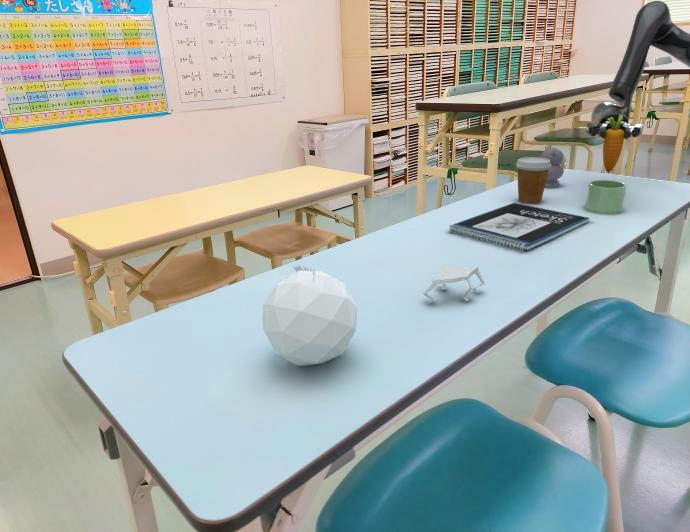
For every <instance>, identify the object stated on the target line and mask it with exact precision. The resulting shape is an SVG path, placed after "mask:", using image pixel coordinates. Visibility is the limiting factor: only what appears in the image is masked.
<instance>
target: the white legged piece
mask: <svg viewBox="0 0 690 532" xmlns="http://www.w3.org/2000/svg"><path fill="white" fill-rule="evenodd" d="M473 275H476V277H477V278H478V279H479V281H480V284H479V285H476V286H473V284H472V282H471V280H470V278H472V276H473ZM462 281H466V283H467V285H468V287H469V288H468V290H467V291H466V292H465V294H464V296H463V299H464V301H465V302H468V301H469V298H468V297H467V295H468V294H469V293H470V292H471V291H472V290H473V291H474V292H475V293H476V294H479V293H480V292H479V291H478V290H477V289H478V288H480V287H481V286H484V285H485V284H486V282H485V280H484V278H483V276H482V273H481V272H480V269H479V266H467V267H466V266H464V267H460V266H459V267H457V266H448V265H446V266H445V268H444V269H443V270H442V271H441V272H440V273H439V274H438V275H437V276H436V278H433V279H432V282H431V284H430V285H429V287H428V288H427V289H426V290H424V291H423V293H422V296H425V297H426V298H428V299H429V300H431V301H429V302H428V304H432V303H434V302H436V299H435V298H434V297H432V295H429V294H428V293H429V292H430V291H431V290H432V289H434V288H435V287H436V286H437V285H440V284H441V285H442V288H441V290H442V291H444V290H446V289H447V285H446V284H452V283H457V282H462Z"/></svg>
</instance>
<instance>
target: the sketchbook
mask: <svg viewBox="0 0 690 532" xmlns="http://www.w3.org/2000/svg"><path fill="white" fill-rule="evenodd" d="M589 222H590V217H588V216H583V215H577V214H573V213H567V212H563V211H557V210H552V209H547V208H543V207H539V206H532V205H529V204H528V205H527V204H524V203H517V202H512V203H509V204H507V205H503V206H501V207H498V208H496V209H493V210H490V211H487V212H484V213H482V214H479V215H475V216H473V217H470V218H467V219H465V220H462V221H459V222H456V223H453V224H450V225H449V226H448V227H449V229H448V230H449V232H450V233H454V234H457V235H460V236H466V237H468V238H472V239H477V240H480V241H483V242H487V243H490V244H491V243H493V244H494V245H495V244H496V245H499V246H502V247H506V248H509V249H513V250H516V251H520V252H526V251H527V252H528V251H529V250H532V249H535V248H536V247H538V246H540V245H543V244H545V243H547V242H549V241H551V240H553V239H555V238H558V237H560V236H562V235H564V234H566V233H568V232H570V231H572V230H575V229H577V228H578V227H579V228H580V227H581V226H583V225H586V224H587V223H589Z"/></svg>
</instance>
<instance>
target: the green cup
mask: <svg viewBox="0 0 690 532" xmlns="http://www.w3.org/2000/svg"><path fill="white" fill-rule="evenodd" d="M626 191H627V184H626V183H624V182H621V181H616V180H608V179H598V180H596V179H595V180H592V181H589V182H588V185H587V192H586V198H585V199H586V200H585V210H587V211H588V212H591V213H594V214H601V215H616V214H620V213H622V212H623V209H624V203H625V196H626Z"/></svg>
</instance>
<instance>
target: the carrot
mask: <svg viewBox="0 0 690 532" xmlns="http://www.w3.org/2000/svg"><path fill="white" fill-rule="evenodd" d="M607 120H608V121H609V122H610V124H611V126H612V129H608V130H607V131H606V133H605V138H603V143H602V144H603V145H602V159H603V160H602V162H603V165H604V169H605V171H606V173H607V174H610V173H611V172H613V169H614V168H615V167H616V165H617V163H618V161H619V159H620V156H621V153H622V149H623V145H624V140H625V139H624V136H625V134H624V131H623V130H621V129H619V126H620V124H621V121H622V120H623V115H622V114H620V115H619V118H618V121H617V123H616V124H615V121H614V119H613V117H611V118H608V119H607Z"/></svg>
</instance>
